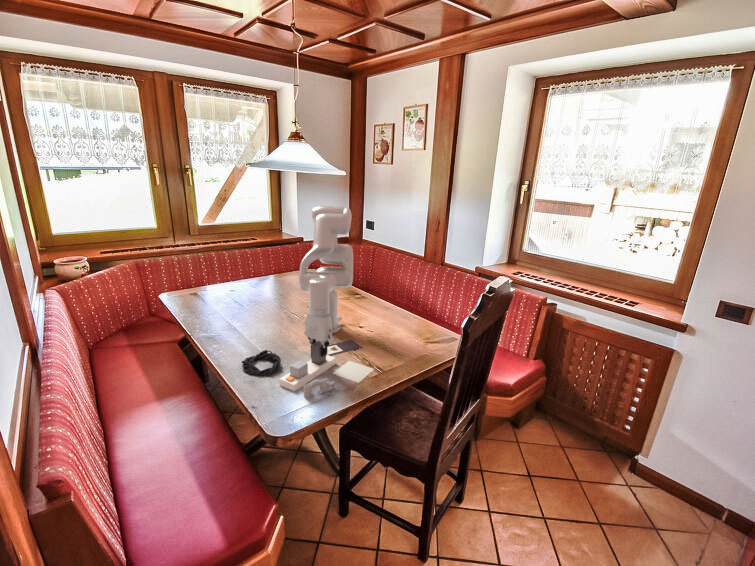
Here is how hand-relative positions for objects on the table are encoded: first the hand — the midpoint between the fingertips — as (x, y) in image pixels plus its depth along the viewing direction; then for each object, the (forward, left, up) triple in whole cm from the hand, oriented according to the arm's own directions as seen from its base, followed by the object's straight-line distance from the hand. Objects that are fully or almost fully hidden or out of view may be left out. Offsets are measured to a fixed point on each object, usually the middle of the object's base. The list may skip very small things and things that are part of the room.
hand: (319, 353), depth 146 cm
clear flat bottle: (+14, +11, -7) cm, 19 cm away
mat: (-5, +13, -6) cm, 15 cm away
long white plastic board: (+6, 0, -7) cm, 9 cm away
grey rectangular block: (0, 0, -4) cm, 4 cm away
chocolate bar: (-18, -3, -7) cm, 19 cm away
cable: (+12, -19, -7) cm, 24 cm away
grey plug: (+12, 0, -6) cm, 13 cm away
